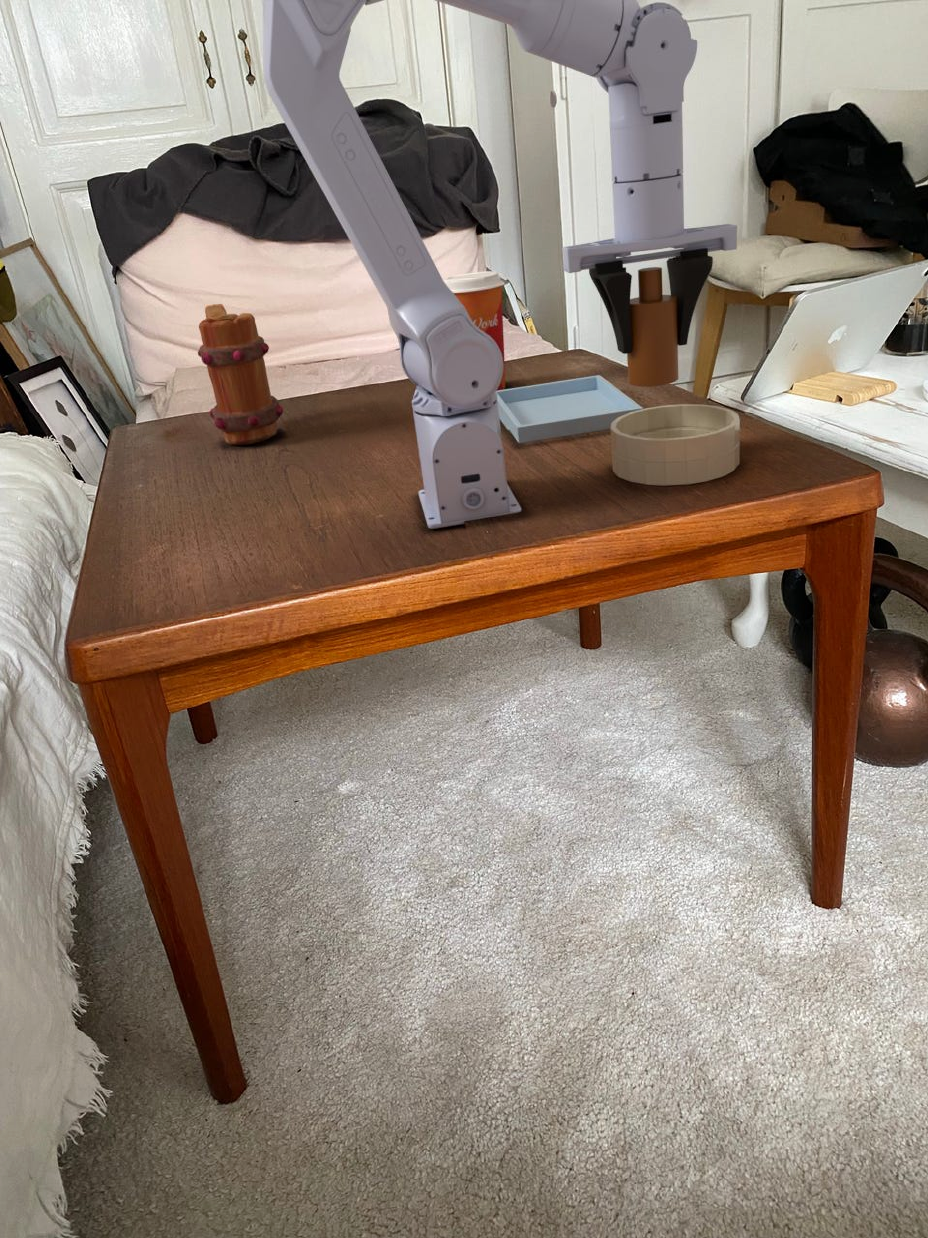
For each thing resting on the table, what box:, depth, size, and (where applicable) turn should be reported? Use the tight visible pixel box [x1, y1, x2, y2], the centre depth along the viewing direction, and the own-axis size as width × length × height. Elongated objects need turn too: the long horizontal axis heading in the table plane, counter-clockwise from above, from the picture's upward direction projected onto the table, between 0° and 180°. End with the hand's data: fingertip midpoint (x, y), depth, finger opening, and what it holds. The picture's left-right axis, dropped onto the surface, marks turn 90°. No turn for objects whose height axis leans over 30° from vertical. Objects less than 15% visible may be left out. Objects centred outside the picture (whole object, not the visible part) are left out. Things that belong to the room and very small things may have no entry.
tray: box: [496, 374, 644, 444], centre depth 105 cm, size 17×13×2 cm
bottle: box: [626, 266, 679, 388], centre depth 83 cm, size 4×4×10 cm
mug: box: [197, 303, 284, 446], centre depth 112 cm, size 15×8×15 cm, turn 22°
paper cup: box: [443, 270, 506, 391], centre depth 119 cm, size 8×8×14 cm
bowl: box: [610, 403, 741, 487], centre depth 84 cm, size 11×11×4 cm
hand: (652, 347), depth 84 cm, fingers closed on bottle, 4 cm apart
